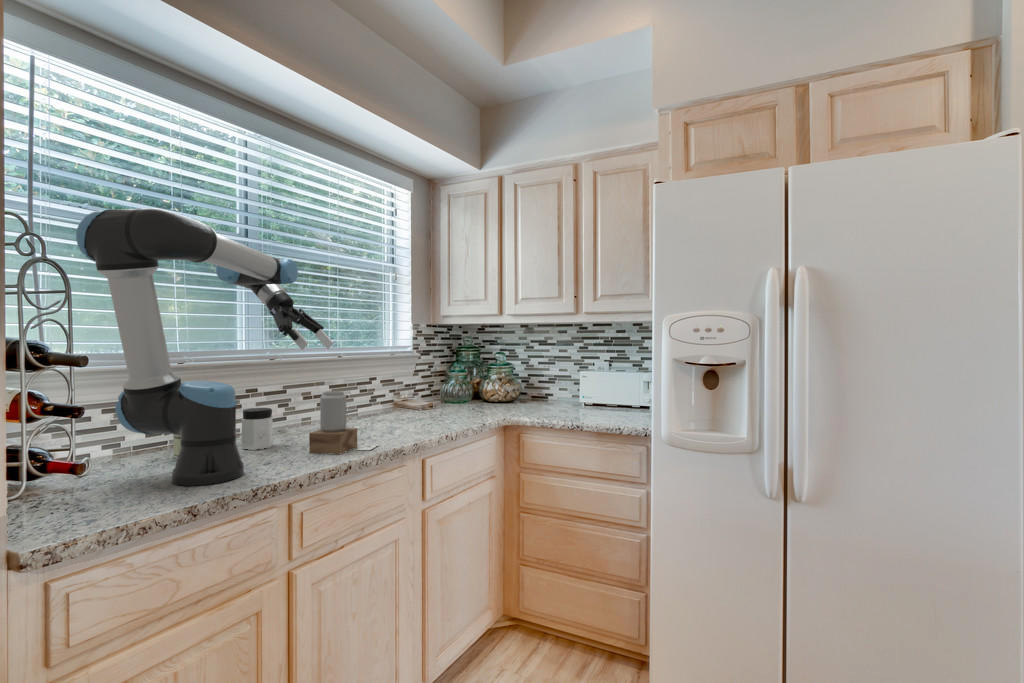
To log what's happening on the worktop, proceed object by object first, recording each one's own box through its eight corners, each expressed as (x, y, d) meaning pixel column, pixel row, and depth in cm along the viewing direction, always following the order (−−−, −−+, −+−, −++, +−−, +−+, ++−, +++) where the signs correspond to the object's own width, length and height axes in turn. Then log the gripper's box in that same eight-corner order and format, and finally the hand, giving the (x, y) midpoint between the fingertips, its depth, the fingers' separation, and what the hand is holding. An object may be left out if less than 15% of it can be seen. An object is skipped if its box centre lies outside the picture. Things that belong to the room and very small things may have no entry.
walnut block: (339, 454, 149) (339, 434, 149) (309, 453, 151) (309, 432, 151) (357, 447, 159) (357, 428, 159) (328, 446, 161) (328, 427, 161)
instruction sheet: (370, 450, 154) (370, 450, 154) (354, 450, 154) (354, 449, 154) (379, 445, 162) (379, 444, 162) (364, 445, 162) (364, 444, 162)
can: (351, 428, 158) (350, 390, 158) (337, 433, 151) (337, 392, 150) (329, 428, 160) (329, 389, 159) (315, 432, 152) (314, 392, 152)
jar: (246, 451, 154) (246, 412, 154) (238, 447, 159) (237, 409, 159) (277, 447, 160) (276, 409, 160) (268, 443, 166) (267, 406, 166)
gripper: (293, 310, 176) (332, 353, 173) (240, 305, 152) (285, 355, 149) (307, 294, 175) (346, 337, 172) (256, 287, 151) (301, 337, 148)
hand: (318, 346), depth 160 cm, fingers open, 13 cm apart
